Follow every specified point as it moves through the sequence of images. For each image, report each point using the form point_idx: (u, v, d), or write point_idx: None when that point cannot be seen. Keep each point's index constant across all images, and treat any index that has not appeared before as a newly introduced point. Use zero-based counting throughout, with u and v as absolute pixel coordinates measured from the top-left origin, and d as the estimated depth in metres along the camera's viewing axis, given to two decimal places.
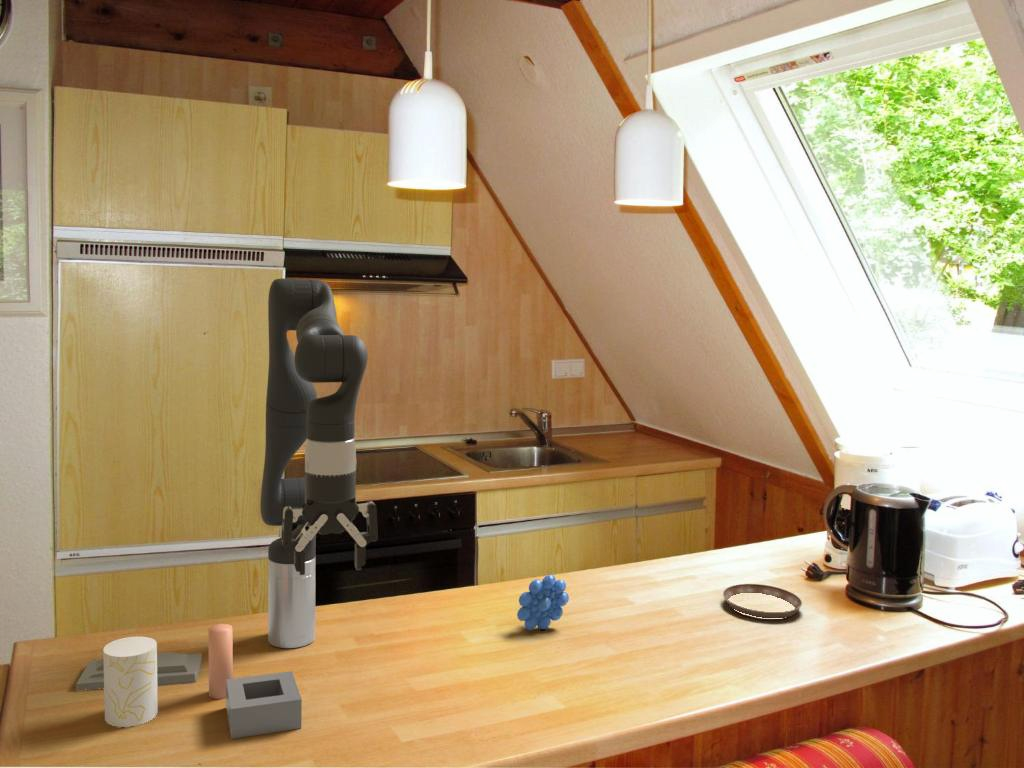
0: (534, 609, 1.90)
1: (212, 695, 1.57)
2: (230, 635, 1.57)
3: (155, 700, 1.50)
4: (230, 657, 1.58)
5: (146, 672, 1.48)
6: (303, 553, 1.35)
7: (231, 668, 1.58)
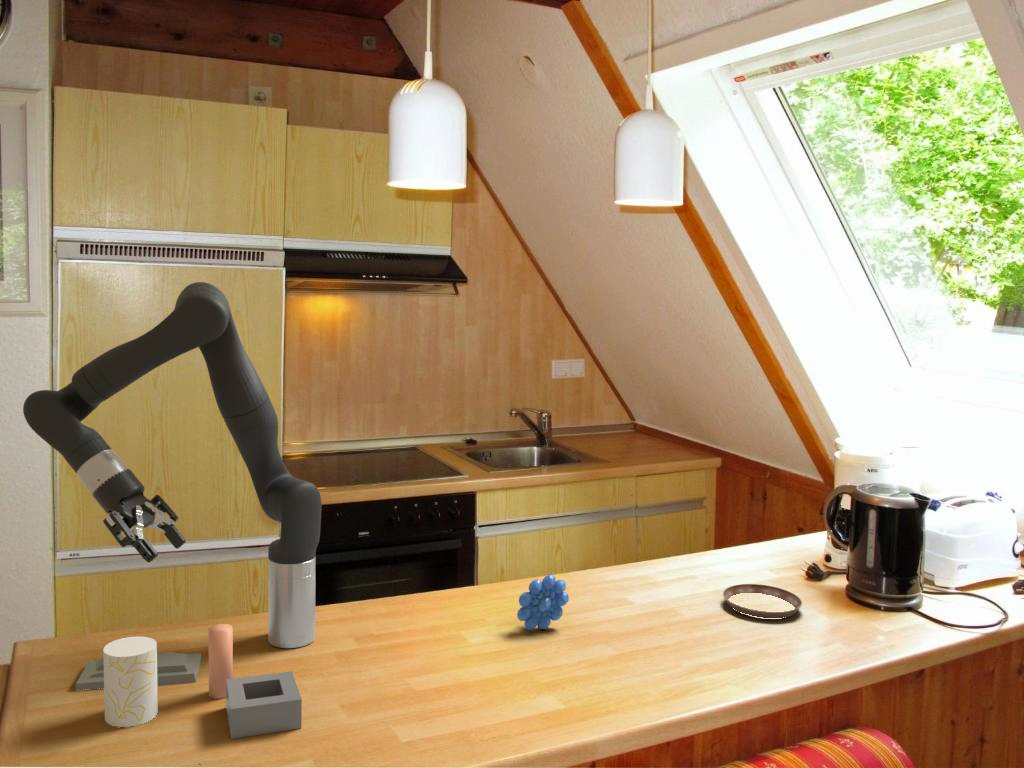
0: (534, 609, 1.90)
1: (212, 695, 1.57)
2: (230, 635, 1.57)
3: (155, 700, 1.50)
4: (230, 657, 1.58)
5: (146, 672, 1.48)
6: (165, 534, 1.63)
7: (231, 668, 1.58)
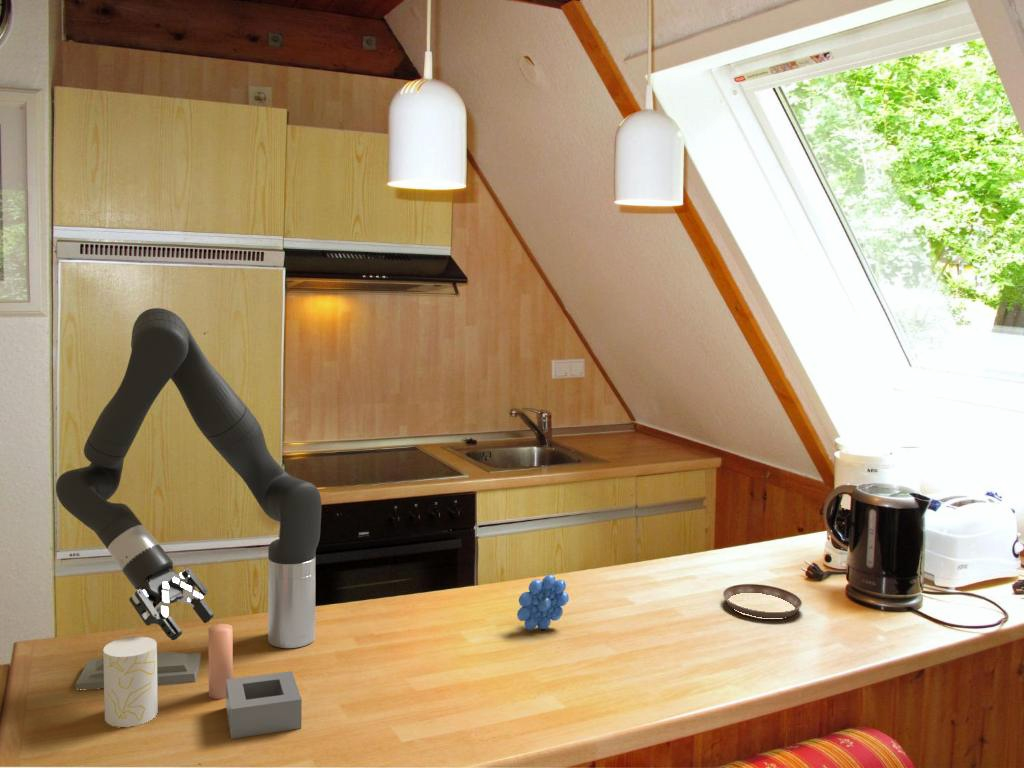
0: (534, 609, 1.90)
1: (212, 695, 1.57)
2: (230, 635, 1.57)
3: (155, 700, 1.50)
4: (230, 657, 1.58)
5: (146, 672, 1.48)
6: (194, 608, 1.64)
7: (231, 668, 1.58)
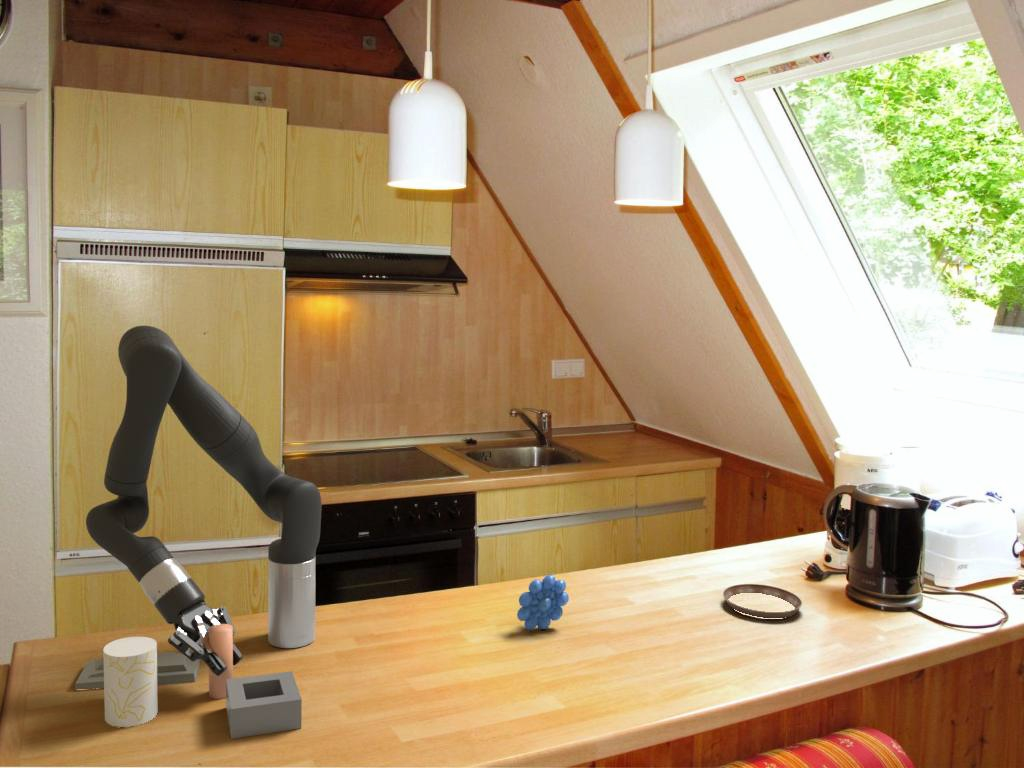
0: (534, 609, 1.90)
1: (212, 695, 1.57)
2: (230, 635, 1.57)
3: (155, 700, 1.50)
4: (230, 657, 1.58)
5: (146, 672, 1.48)
6: None
7: (231, 668, 1.58)
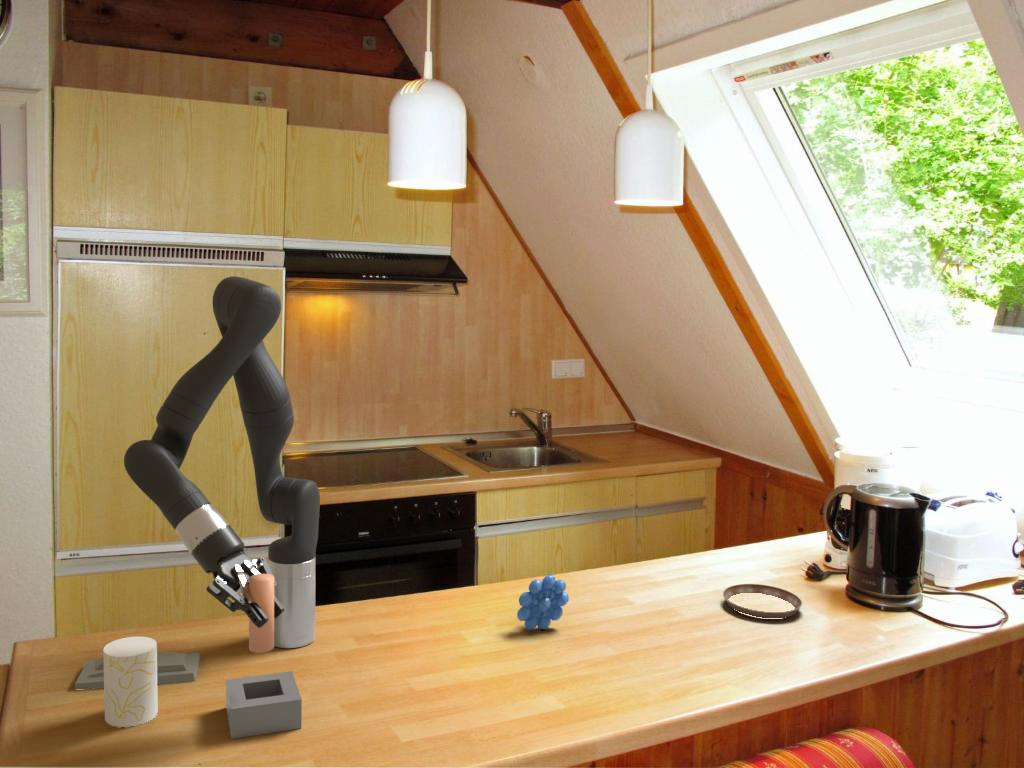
0: (534, 609, 1.90)
1: (253, 649, 1.48)
2: (272, 585, 1.48)
3: (155, 700, 1.50)
4: (272, 608, 1.48)
5: (146, 672, 1.48)
6: None
7: (273, 620, 1.49)
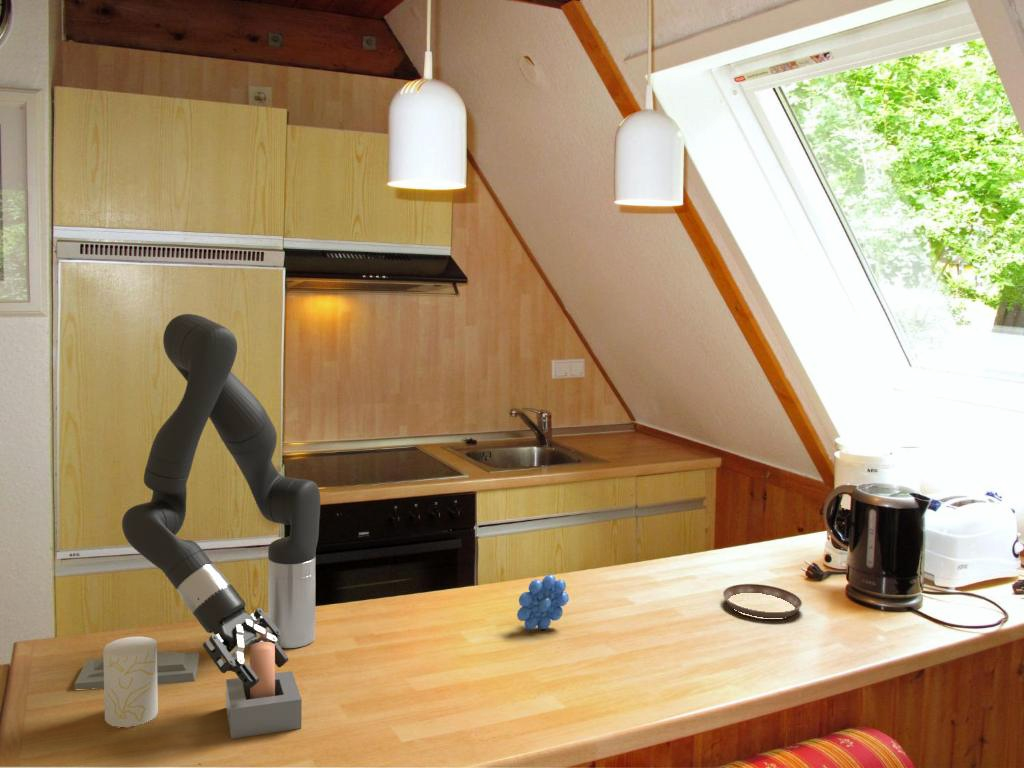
0: (534, 609, 1.90)
1: None
2: (273, 653, 1.50)
3: (155, 700, 1.50)
4: (272, 677, 1.50)
5: (146, 672, 1.48)
6: None
7: (273, 688, 1.51)
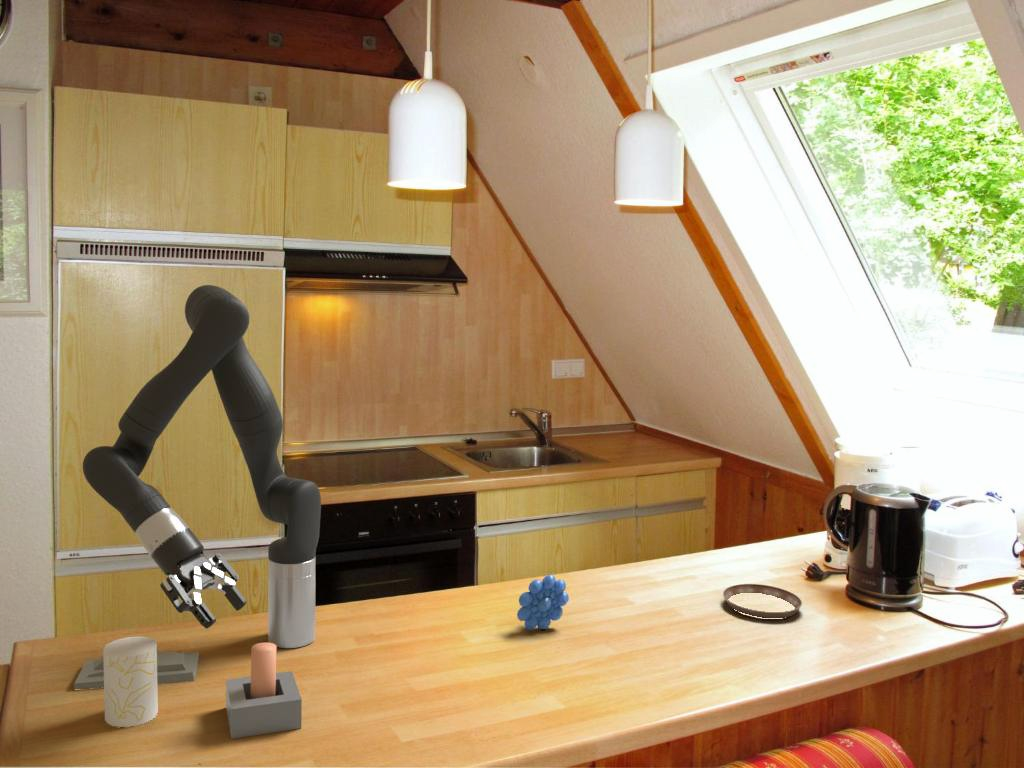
0: (534, 609, 1.90)
1: None
2: (274, 654, 1.50)
3: (155, 700, 1.50)
4: (273, 678, 1.50)
5: (146, 672, 1.48)
6: None
7: (274, 689, 1.51)
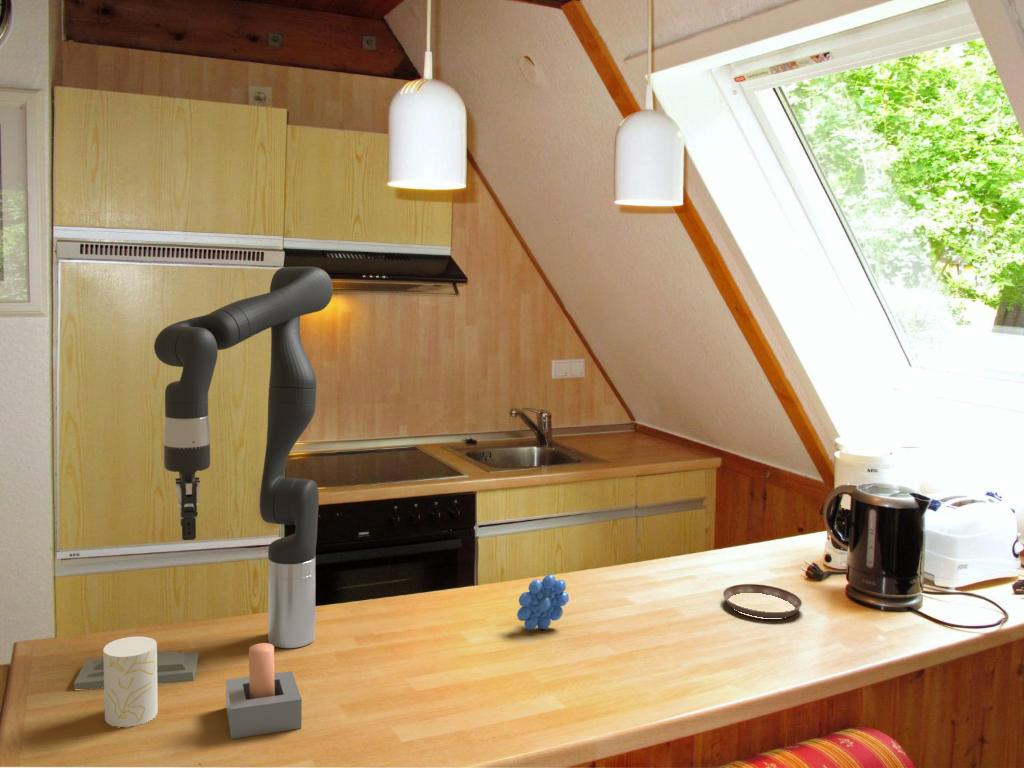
0: (534, 609, 1.90)
1: None
2: (272, 655, 1.49)
3: (155, 700, 1.50)
4: (272, 678, 1.50)
5: (146, 672, 1.48)
6: (180, 507, 1.62)
7: (273, 689, 1.50)
